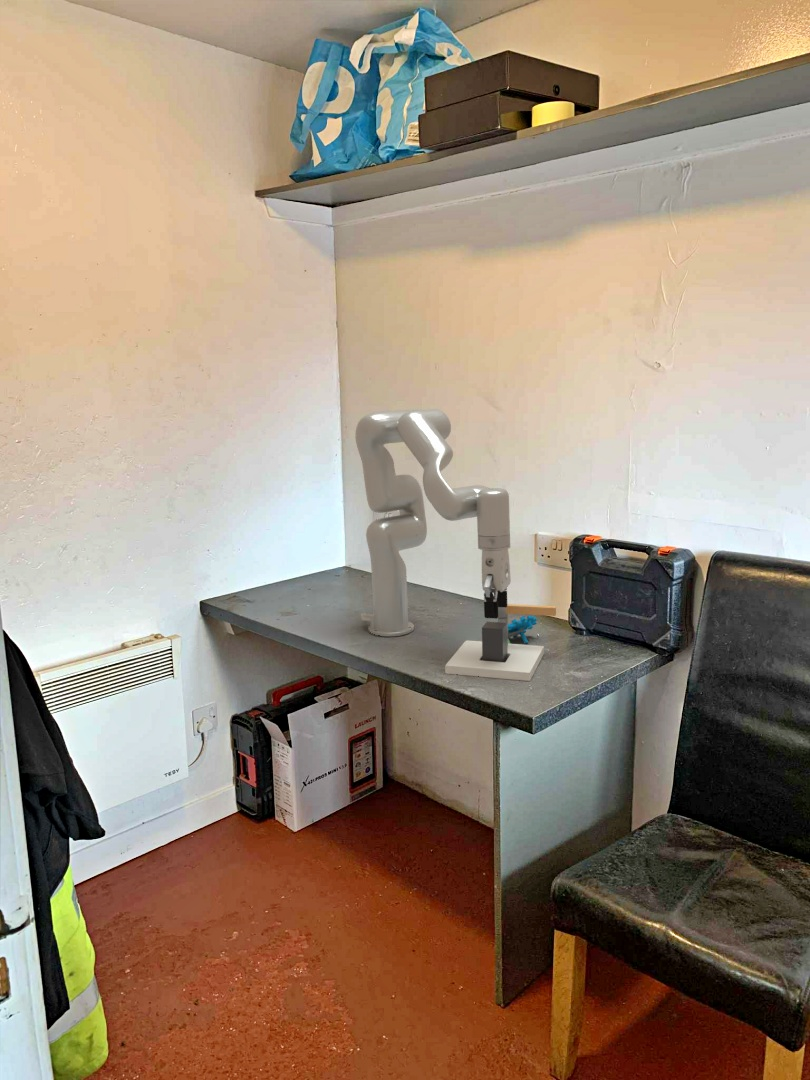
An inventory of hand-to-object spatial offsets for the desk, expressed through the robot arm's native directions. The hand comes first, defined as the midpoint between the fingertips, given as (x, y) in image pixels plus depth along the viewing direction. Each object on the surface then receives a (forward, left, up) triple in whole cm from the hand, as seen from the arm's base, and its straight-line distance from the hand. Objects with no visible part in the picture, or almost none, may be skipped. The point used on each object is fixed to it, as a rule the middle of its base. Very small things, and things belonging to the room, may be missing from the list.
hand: (496, 612), depth 195 cm
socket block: (-1, +1, -13) cm, 13 cm away
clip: (+5, +10, -4) cm, 12 cm away
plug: (-1, 0, -13) cm, 13 cm away
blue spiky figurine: (+1, +19, -14) cm, 24 cm away
